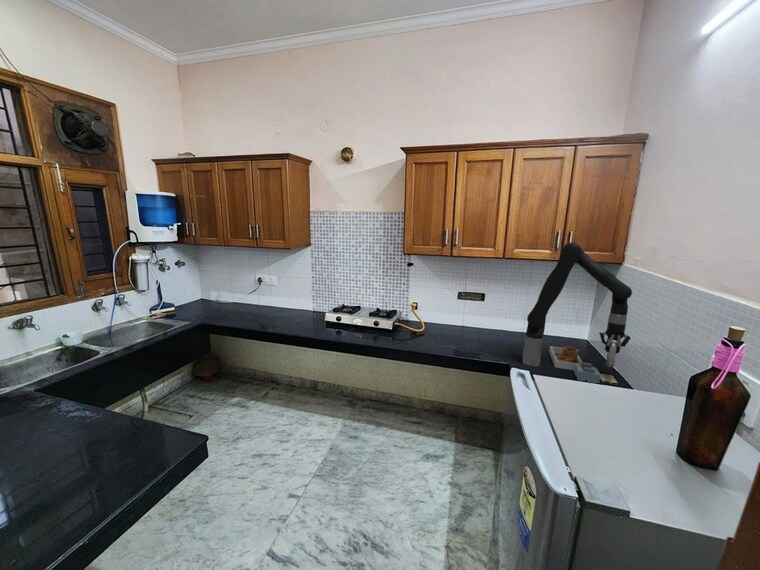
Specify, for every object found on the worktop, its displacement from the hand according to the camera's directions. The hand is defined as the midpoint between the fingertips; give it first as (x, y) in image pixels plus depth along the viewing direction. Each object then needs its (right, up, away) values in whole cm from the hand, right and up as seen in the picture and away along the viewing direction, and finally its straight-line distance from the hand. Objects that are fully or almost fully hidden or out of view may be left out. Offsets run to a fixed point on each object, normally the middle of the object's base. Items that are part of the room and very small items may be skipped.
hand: (611, 352), depth 168 cm
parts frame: (-10, -11, +25) cm, 29 cm away
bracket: (-10, -11, +25) cm, 29 cm away
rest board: (0, -16, +3) cm, 16 cm away
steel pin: (0, -8, +1) cm, 8 cm away
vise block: (-11, -15, +5) cm, 19 cm away
